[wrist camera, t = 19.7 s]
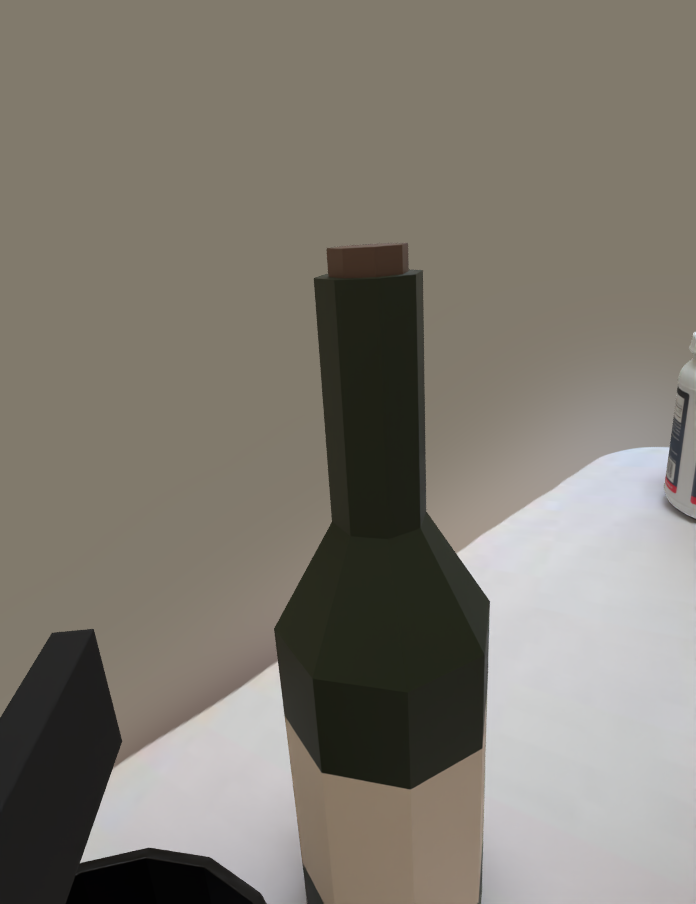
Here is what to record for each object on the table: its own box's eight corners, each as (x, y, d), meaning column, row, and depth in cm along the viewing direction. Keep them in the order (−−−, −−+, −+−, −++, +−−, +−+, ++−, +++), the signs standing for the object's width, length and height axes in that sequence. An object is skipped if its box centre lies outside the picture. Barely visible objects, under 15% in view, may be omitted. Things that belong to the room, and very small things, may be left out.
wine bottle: (273, 930, 28) (169, 258, 18) (375, 800, 35) (343, 241, 24) (427, 1066, 24) (410, 252, 13) (515, 887, 30) (553, 233, 19)
